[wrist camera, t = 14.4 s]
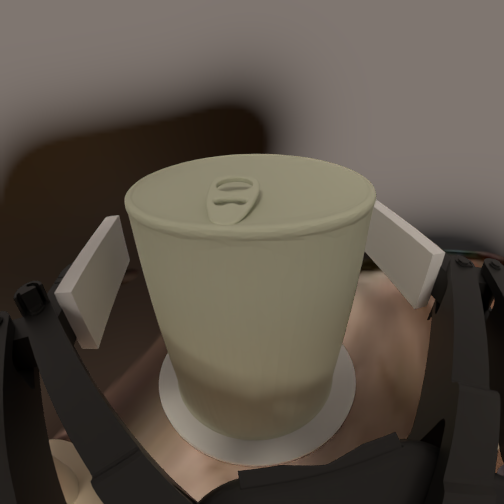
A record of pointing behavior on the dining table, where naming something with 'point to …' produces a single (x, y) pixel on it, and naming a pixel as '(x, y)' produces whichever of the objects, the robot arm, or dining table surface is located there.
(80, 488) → the gate
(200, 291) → the can
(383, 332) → the dining table surface
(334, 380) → the coaster
